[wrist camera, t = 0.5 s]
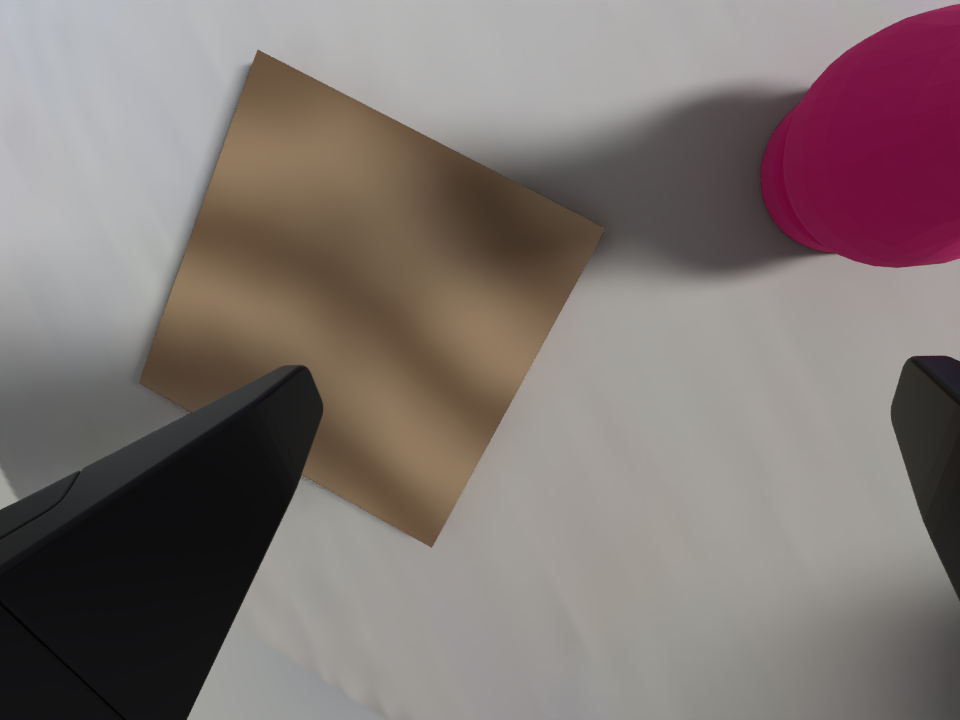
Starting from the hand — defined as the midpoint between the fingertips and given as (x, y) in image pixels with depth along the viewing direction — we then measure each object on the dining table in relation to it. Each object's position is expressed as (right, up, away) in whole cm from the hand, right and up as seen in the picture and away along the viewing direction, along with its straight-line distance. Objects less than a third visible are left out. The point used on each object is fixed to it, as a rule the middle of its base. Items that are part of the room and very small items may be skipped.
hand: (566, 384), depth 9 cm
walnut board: (-7, +3, +17) cm, 18 cm away
